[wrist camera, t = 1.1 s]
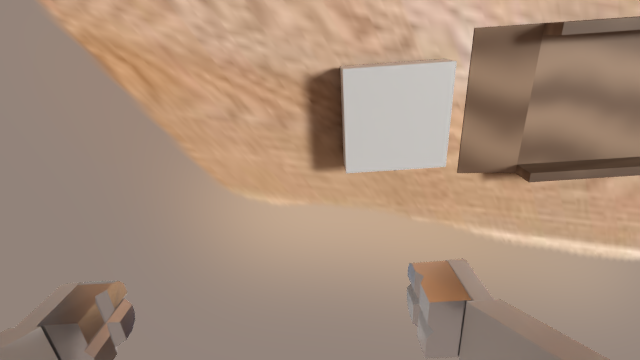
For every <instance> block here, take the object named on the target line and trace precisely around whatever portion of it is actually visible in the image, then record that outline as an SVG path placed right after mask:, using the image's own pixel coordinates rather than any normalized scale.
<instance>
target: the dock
mask: <svg viewBox="0 0 640 360" xmlns="http://www.w3.org/2000/svg"><path fill="white" fill-rule="evenodd" d="M457 173H516V174H518V175H519V176H521V177H522V178H524V179H525V180H526V181H528V182H540V181H556V180H571V179H587V178H603V177H619V176H634V175H640V16H639V17H625V18H611V19H597V20H583V21H568V22H554V23H540V24H526V25H512V26H498V27H483V28H475V30H474V39H473V47H472V55H471V64H470V72H469V80H468V89H467V97H466V105H465V114H464V122H463V131H462V139H461V147H460V156H459V164H458V172H457Z"/></svg>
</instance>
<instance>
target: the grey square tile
mask: <svg viewBox="0 0 640 360" xmlns="http://www.w3.org/2000/svg"><path fill="white" fill-rule="evenodd" d="M456 62H457V61H453V60H448V59H434V60H420V61H406V62H391V63H377V64H362V65H348V66H340V72H341V100H342V127H343V154H344V166H345V170H346V173H357V172H372V171H388V170H404V169H419V168H435V167H446V159H447V149H448V139H449V130H450V120H451V110H452V101H453V91H454V81H455V71H456Z"/></svg>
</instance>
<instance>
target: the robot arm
mask: <svg viewBox="0 0 640 360" xmlns="http://www.w3.org/2000/svg"><path fill="white" fill-rule="evenodd" d="M408 277H409V280H410V282H411V284H410V285H409V286H408V288H407V302H408V309H409V313H410V317H411V320H412V323H413V324H415V325H416V326H417V327H418V330H417V337H418V339H419V343H420V346H421V348H422V351H423V354H424V357H425V358H449V357H459V360H609V359H608V358H606V357H604V356H602V355H600V354H599V353H597V352H595V351H593V350H591V349H589V348H588V347H586V346H584V345H582V344H581V343H579V342H577V341H575V340H573V339H571V338H570V337H568V336H566V335H564V334H562V333H561V332H559V331H557V330H555V329H553V328H552V327H550V326H548V325H546V324H544V323H542V322H540V321H539V320H537V319H535V318H533V317H531V316H530V315H528V314H526V313H524V312H523V311H521V310H519V309H517V308H515V307H514V306H511V305H510V304H508V303H506V302H504V301H503V300H501V299H494V298H493V297H492V295H491V294H490V293H489V291H488V290H487V288H486V287H485V286H484V284H483V283H482V281H481V280H480V279H479V277H478V276H477V274H476V273H475V272H474V270H473V269H472V268H471V266H470V265H469V263H468V262H467V261H466V260H465V259H454V260H445V261H436V262H420V263H410V264H409V267H408ZM126 294H127V290H126V287H125V286H124V283H122V282H120V281H101V282H84V283H81V282H80V283H67V284H64V285H61V286H59V287H58V289H56V290H55V291H54V292H53V293H52V294H51V295H50V296H49V297H48V298H46V299H45V300H44V301H43V302H42V303H41V304H40V305H39V306H38V307H37V308H35V309H34V310H33V311H32V312H31V313H30V314H29V315H28V316H27V317H26V318H25V319H24V320H23V321H21V322H20V323H19V324H18V325H17V326H16V327H15V328H9V329H7V330H4V331H2V332H1V333H0V360H113V359H114V358H115V357H116V355H117V348H116V347H117V346H118V345H120V344H121V343H122V342H124V341H125V340H127V338H128V336H129V335H130V333H131V332H132V329H133V325H134V322H135V312H134V308H133V306H132V304H131V303H130V302H128V301H127V300H126V299H125V297H126Z"/></svg>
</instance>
